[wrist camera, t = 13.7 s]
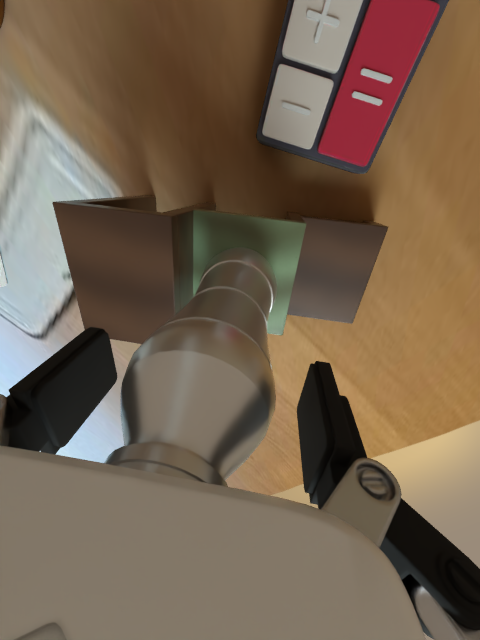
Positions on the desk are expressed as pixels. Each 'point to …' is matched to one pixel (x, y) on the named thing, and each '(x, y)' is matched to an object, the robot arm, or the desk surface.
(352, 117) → the calculator
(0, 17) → the mug
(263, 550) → the robot arm
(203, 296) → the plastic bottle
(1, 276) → the gable box
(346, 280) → the shelf
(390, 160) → the desk surface
